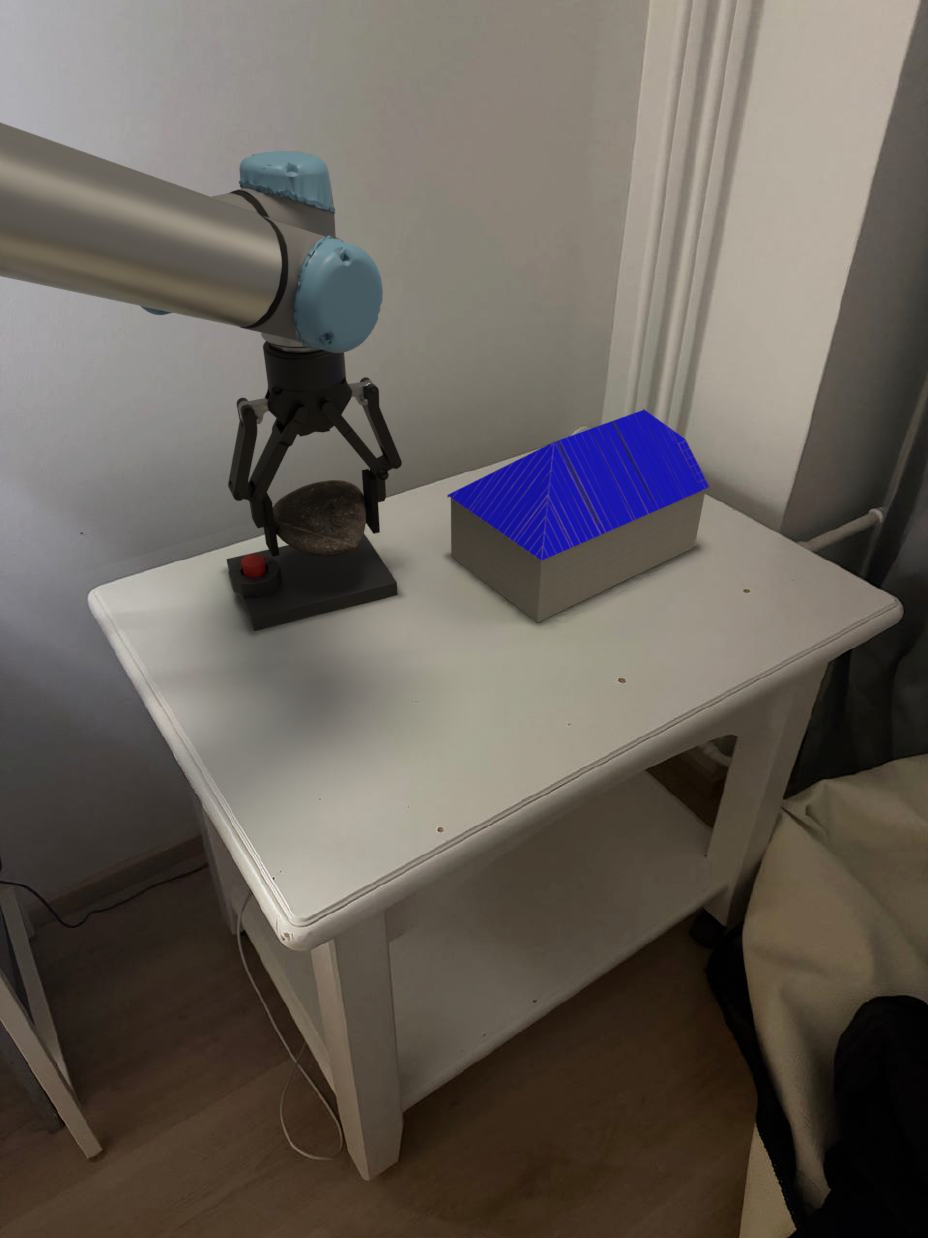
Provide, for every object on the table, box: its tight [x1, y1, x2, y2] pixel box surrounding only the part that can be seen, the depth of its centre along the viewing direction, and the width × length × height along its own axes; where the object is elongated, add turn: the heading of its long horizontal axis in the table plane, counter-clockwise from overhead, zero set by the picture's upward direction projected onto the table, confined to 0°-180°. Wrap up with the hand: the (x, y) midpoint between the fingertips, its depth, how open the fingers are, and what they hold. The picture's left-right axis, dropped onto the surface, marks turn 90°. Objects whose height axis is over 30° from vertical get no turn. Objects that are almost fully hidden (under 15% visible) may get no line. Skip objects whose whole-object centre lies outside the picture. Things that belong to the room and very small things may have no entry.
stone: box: [272, 479, 367, 557], centre depth 96 cm, size 11×11×5 cm
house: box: [446, 408, 711, 623], centre depth 100 cm, size 25×16×16 cm, turn 127°
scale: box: [226, 533, 398, 632], centre depth 98 cm, size 17×12×4 cm
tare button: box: [242, 554, 266, 578], centre depth 95 cm, size 2×2×2 cm
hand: (323, 538), depth 97 cm, fingers closed on stone, 11 cm apart
